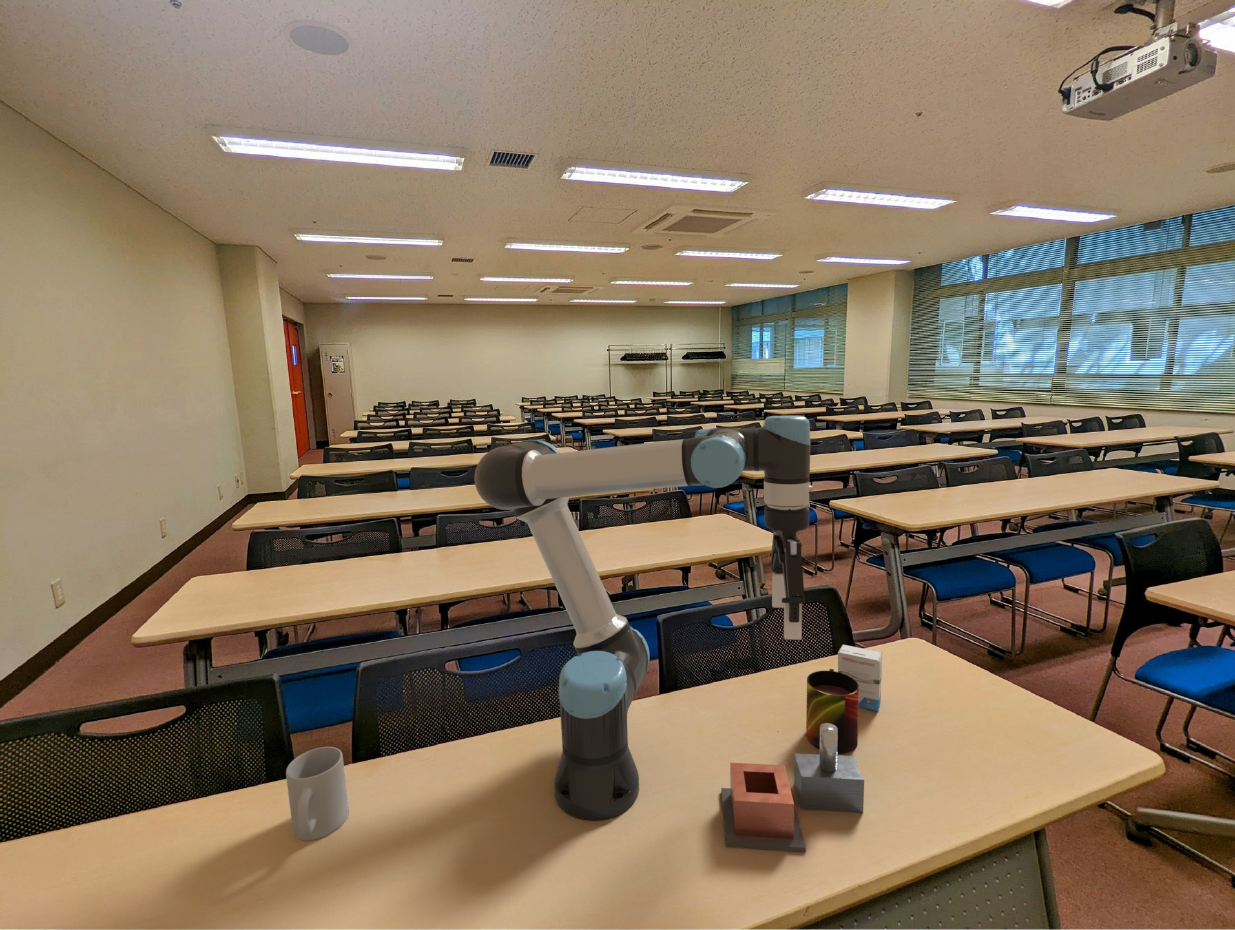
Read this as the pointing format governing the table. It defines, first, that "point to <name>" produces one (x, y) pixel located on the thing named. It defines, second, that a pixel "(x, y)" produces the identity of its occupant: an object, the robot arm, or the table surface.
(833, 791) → the toggle switch
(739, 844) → the mat
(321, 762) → the mug
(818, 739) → the mug
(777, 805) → the red square hollow block
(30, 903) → the table surface
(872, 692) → the ink box
